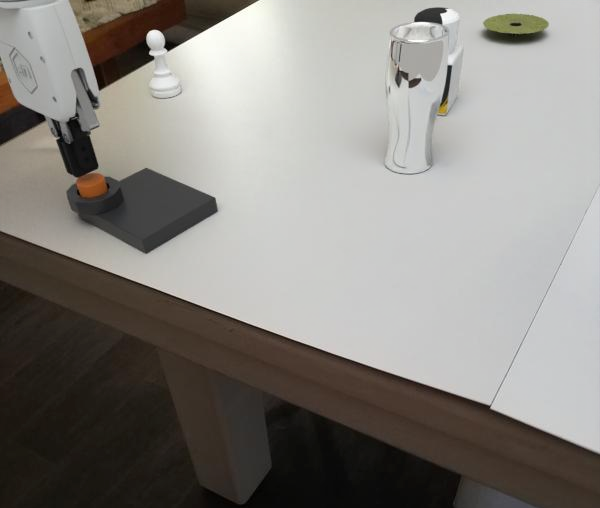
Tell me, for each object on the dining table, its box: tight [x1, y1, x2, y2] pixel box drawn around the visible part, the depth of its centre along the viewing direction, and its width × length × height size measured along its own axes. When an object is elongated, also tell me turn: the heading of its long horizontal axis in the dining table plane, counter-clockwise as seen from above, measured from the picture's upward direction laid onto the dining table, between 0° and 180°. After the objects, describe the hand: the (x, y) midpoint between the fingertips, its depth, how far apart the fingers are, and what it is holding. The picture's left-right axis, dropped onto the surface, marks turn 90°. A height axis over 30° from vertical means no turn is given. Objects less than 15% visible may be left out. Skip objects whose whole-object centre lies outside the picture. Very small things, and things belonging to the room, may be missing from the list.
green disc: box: [482, 13, 550, 35], centre depth 105 cm, size 11×11×2 cm
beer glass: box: [384, 21, 450, 175], centre depth 70 cm, size 7×7×15 cm
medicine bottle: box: [413, 6, 465, 117], centre depth 83 cm, size 7×7×12 cm
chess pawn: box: [145, 29, 182, 99], centre depth 93 cm, size 5×5×9 cm
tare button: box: [75, 172, 108, 197], centre depth 68 cm, size 3×3×2 cm
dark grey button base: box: [66, 167, 219, 255], centre depth 69 cm, size 14×12×4 cm
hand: (83, 170), depth 67 cm, fingers closed
